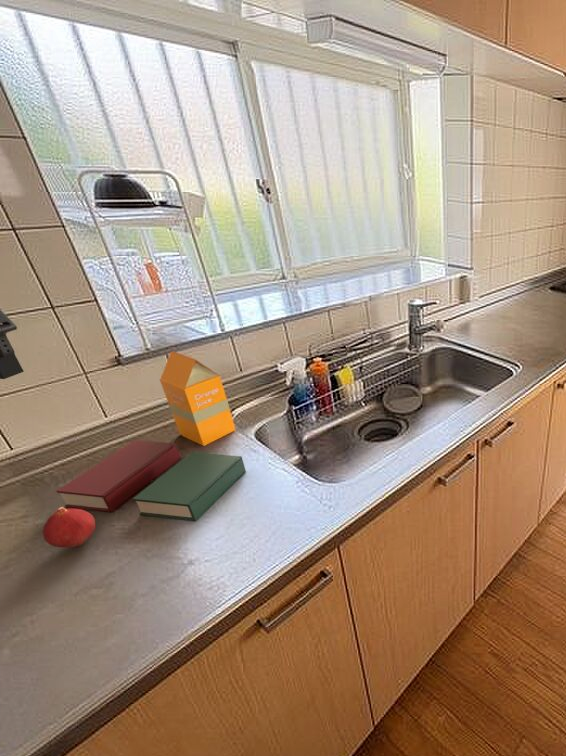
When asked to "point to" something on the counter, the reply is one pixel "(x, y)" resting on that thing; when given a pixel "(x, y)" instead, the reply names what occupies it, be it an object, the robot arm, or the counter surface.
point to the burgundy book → (119, 476)
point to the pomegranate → (68, 527)
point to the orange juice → (196, 399)
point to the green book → (190, 486)
